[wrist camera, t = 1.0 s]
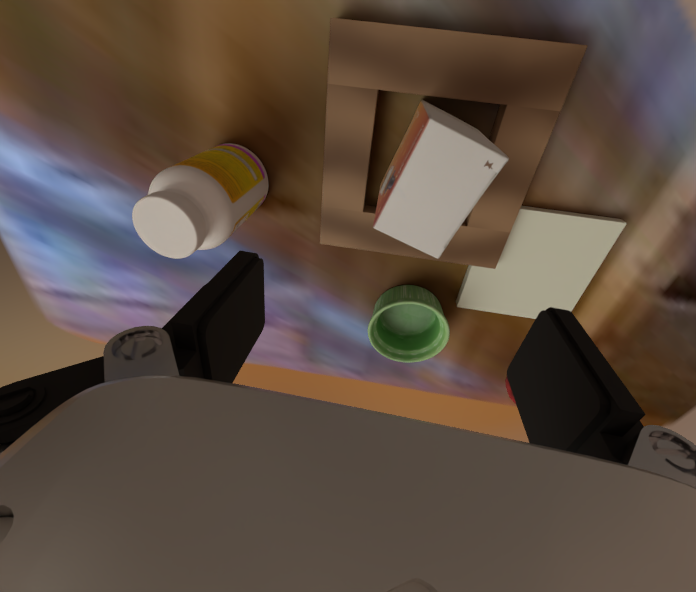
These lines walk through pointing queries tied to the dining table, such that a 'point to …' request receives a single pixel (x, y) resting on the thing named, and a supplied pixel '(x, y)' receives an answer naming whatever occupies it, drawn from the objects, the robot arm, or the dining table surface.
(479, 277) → the cream square tile
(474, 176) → the small box
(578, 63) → the holder block
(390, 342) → the ramekin
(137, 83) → the dining table surface
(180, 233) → the supplement bottle
